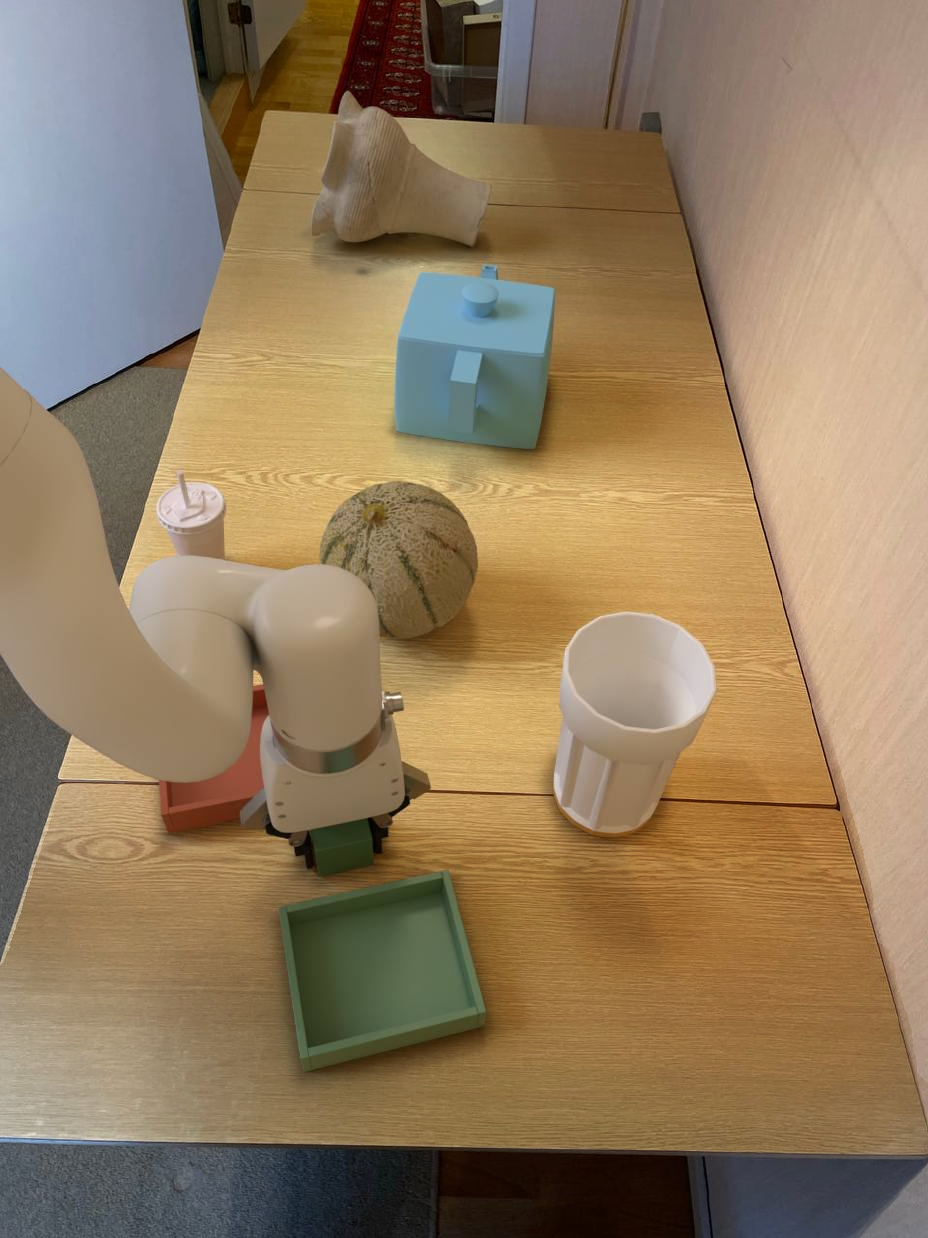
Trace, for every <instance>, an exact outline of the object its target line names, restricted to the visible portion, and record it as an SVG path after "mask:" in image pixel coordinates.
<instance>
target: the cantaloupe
mask: <svg viewBox="0 0 928 1238" xmlns="http://www.w3.org/2000/svg"><path fill="white" fill-rule="evenodd" d="M477 546H478V545H477V544H476V539H475V535H474V534H473V532H472V531H471V529H470V526H469V524H468V519H466V518H465V516H464V514H463V513H462V512H461V510H460V508H459V507H457V505H456V504H455V503H454V502H453V501H452V500H451V499H449V498H448V497H447V496H446V495H444V494H443V493H442V492H440V491H438V490H436V489H434V488H431V487H430V486H427V485H425V484H424V485H423V484H421V483H414V482H409V481H401V480H393V481H388V482H384V483H382V482H381V483H375V484H372V485H370V486H367V487H365V488H364V489H362V490H360V491H358V492H357V493H355V494H353V495H351V496H350V497H348V498H347V499H345V500H344V501H342V502H341V503H340V505H338V506H337V508H336V510H335V511H334V512H333V513H332V515H331V518H330V519H329V521H328V523H327V526H326V528H325V530H324V531H323V534H322V536H321V541H320V544H319V557H318V558H319V564H326V565H331V566H336V567H339V568H342V569H345V570H347V571H349V572H351V573H353V574H354V575H355V576H357V577H358V578H360V579H361V580H362V581H363V582H364V583H365V584H366V585H367V587H368V588H369V589H370V591H371V593H372V594H373V596H374V598H375V601H376V604H377V608H378V615H379V632H380V638H386V639H411V638H416V637H419V636H423V635H426V634H429V633H430V632H432V631H434V630H436V629H439V628H442V627H443V626H444V625H445V624H447V623H448V622H450V621H451V620H452V619H453V618H455V617H456V616H457V615H458V614H459V613H460V612H461V610H462V608H463V607H464V605H466V602H467V601H468V599H469V598H470V595H471V591H472V589H473V587H474V585H475V582H476V577H477V573H478V567H479V558H478V547H477Z"/></svg>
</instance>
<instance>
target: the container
mask: <svg viewBox="0 0 928 1238" xmlns="http://www.w3.org/2000/svg"><path fill="white" fill-rule="evenodd" d="M498 268H499V267H498V265H495V264H494V265H493V264H485V263H484V264H483V265H482V267H481V271H480V275H479V277H478V276H469V275H459V274H451V273H442V272H441V273H440V272H428V271H427V272H426V271H421V272H419V274H418V276H417V279H416V281H415V284H414V286H413V290H412V291H411V292H412V293H411V296H410V298H409V301H408V303H407V307H406V310H405V313H404V316H403V318H402V321H401V325H400V328H399V332H398V335H397V343H396V356H395V357H396V358H395V374H394V421H395V422H394V423H395V429H396V431H397V432H398V433H402V434H407V435H413V436H418V437H425V438H431V439H437V440H444V441H450V442H451V441H452V442H458V443H467V444H474V445H484V446H491V447H492V446H493V447H501V448H508V449H509V448H510V449H521V450H535V449H536V446H537V442H538V439H539V434H540V431H541V430H540V429H541V425H542V420H543V414H544V408H545V403H546V402H545V401H546V397H547V396H546V395H547V390H548V382H549V375H550V366H551V359H552V350H553V349H552V347H553V338H554V325H555V308H556V289H555V288H554V287H550V286H546V285H539V284H532V283H527V282H518V281H512V280H511V281H509V280H502V279H499V272H498Z"/></svg>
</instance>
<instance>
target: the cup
mask: <svg viewBox="0 0 928 1238" xmlns="http://www.w3.org/2000/svg"><path fill="white" fill-rule="evenodd" d="M561 669H562V670H561V676H560V683H559V684H560V685H559V703H558V707H559V709H560V712H561V714H562V717H561V724H560V725H561V726H560V733H559V737H558V738H559V739H558V740H559V741H558V746H557V752H556V759H555V765H554V773H553V780H552V793H553V797H554V800H555V803H556V805H557V808H558V810H559V811H560V813H561V814H562V815H563V816H564V817H565V819H567V821H569V822H570V823H571V824H572V825H573V826H575V827H576V828H578V829H579V830H581V831H583V832H585V833H588V834H589V835H592V836H594V837H595V836H596V837H602V838H619V837H625V836H629V835H632V834H635V833H636V832H638V831H640V830H641V829H642V828H643V827H644V826H645V825H647V824H648V823H649V822H650V820H651V818H652V817H653V815H654V813H655V811H656V809H657V807H658V804H659V802H660V801H661V798H662V796H663V794H664V791H665V789H666V786H667V784H668V782H669V780H670V778H671V775H672V773H673V771H674V769H675V766H676V765H677V762H678V760H679V758H680V756H681V753H682V752H684V751H685V750H686V749H688V747H690V746H692V744H693V742H694V740H695V738H696V736H697V735H698V733H699V731H700V729H701V727H702V725H703V723H704V721H705V719H706V716H707V714H708V712H709V710H710V707H711V705H712V704H713V702H714V699H715V697H716V695H717V693H718V686H717V685H718V684H717V671H716V670H717V669H716V666H715V664H714V662H713V660H712V658H711V656H710V655H709V652H708V651H707V649H706V647H705V646H704V644H703V643H702V642H701V641H699V639H697V638H696V637H695V636H693V634H692V633H690V632H689V631H688V630H687V629H686V628H684V627H683V626H682V625H681V624H677V623H675V622H673V621H671V620H669V619H666V618H664V617H661V616H659V615H657V614H653V613H643V612H635V611H628V610H627V611H626V610H625V611H620V612H616V613H609V614H605V615H599V616H598V617H596V618H595V619H593V620H591V621H590V622H588V623H587V624H585V625H584V626H582V627H580V628H578V629H577V630H576V632H575V634H574V635H573V637H572V638H571V639H570V641H569V643H568V644H567V646H566V647H565V649H564V655H563V663H562V668H561Z"/></svg>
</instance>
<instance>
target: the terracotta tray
mask: <svg viewBox="0 0 928 1238" xmlns="http://www.w3.org/2000/svg"><path fill="white" fill-rule="evenodd" d="M268 716H269V711H268V706H267V701H266V695H265V690H264V686H263V683H262V684H256V685H253V701H252V717H251V728H250V734H249V738H248V741H247V744H246V746H245V748H244V751H243V752H242V754H241V756H240V757H239V758H238V759H237V761H236V762H235V763H234V764H233V765H232V766H231V767H229V768H228V769H227V770H225V771H224V772H223V773H221V774H219V775H217V776H215V777H213V778H209V779H206V780H202V781H197V782H170V781H164V780H159V779H158V787H159V788H158V789H159V801H160V802H159V804H160V815H161V818H162V821H163V822H164V826H165V828H166V831H167V833H168V834H174V833H178V832H184V831H188V830H193V829H197V828H204V827H207V826H208V827H209V826H212V825H218V824H222V823H227V822H233V821H238V820H240V815H239V811H240V810H241V809H242V808H243V807H244V806H245V805H246V804H247V803H248V802H249V801H250V800H251V799H252V798H253V797H254V796H255V795H256V794H257V793H258V792H259V791H260V790H261V789H262V788H263V787H264V784H263V777H262V769H261V761H260V739H261V731H262V727H263V724H264V721H265V720H266V718H267V717H268Z"/></svg>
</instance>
